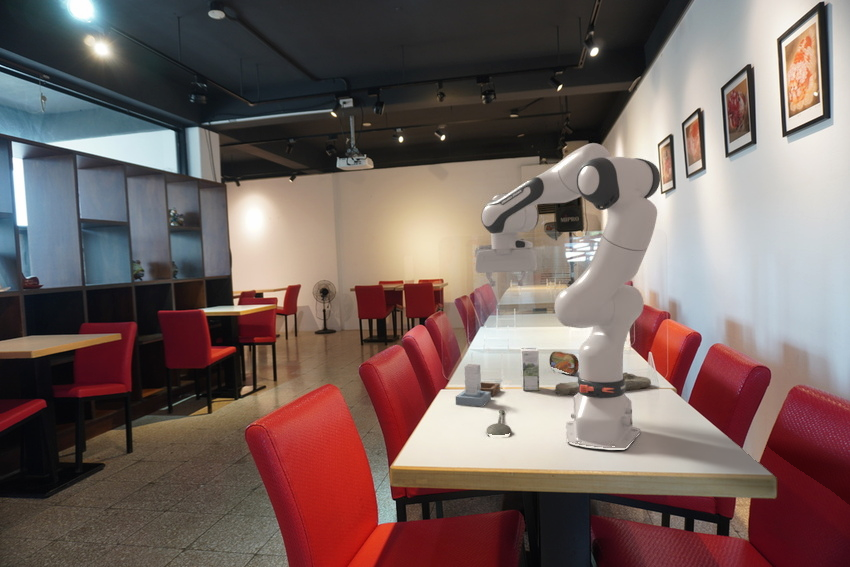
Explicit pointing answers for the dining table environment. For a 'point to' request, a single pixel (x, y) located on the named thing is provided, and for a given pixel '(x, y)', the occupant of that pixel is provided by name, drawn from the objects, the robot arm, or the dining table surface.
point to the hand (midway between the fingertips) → (506, 286)
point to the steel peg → (472, 381)
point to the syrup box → (530, 369)
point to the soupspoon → (499, 427)
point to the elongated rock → (630, 380)
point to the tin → (564, 362)
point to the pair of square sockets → (486, 394)
